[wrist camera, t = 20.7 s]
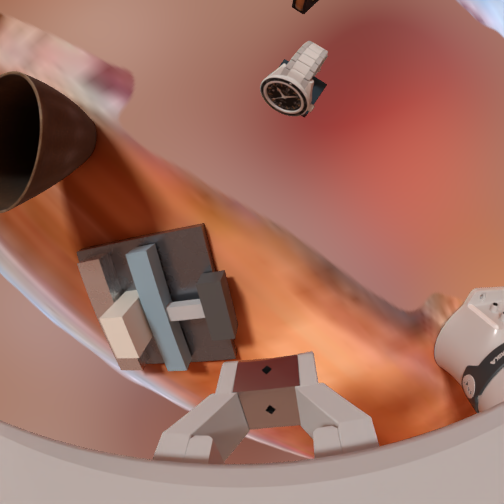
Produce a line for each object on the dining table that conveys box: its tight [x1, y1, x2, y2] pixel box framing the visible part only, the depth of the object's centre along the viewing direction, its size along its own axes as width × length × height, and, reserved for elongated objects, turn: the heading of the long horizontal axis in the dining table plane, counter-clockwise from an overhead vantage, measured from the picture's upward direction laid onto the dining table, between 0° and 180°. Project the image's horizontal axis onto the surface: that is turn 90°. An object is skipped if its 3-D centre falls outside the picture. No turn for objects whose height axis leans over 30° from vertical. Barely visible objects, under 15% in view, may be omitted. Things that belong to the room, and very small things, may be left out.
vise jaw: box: [125, 243, 238, 371], centre depth 39 cm, size 11×18×3 cm, turn 11°
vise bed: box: [77, 223, 237, 370], centre depth 40 cm, size 20×20×4 cm
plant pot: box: [0, 71, 96, 213], centre depth 28 cm, size 15×15×16 cm
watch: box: [260, 41, 328, 117], centre depth 27 cm, size 6×8×11 cm
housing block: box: [99, 290, 153, 358], centre depth 38 cm, size 4×6×8 cm, turn 11°
